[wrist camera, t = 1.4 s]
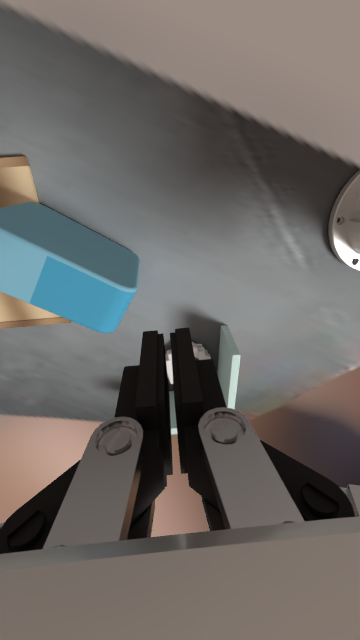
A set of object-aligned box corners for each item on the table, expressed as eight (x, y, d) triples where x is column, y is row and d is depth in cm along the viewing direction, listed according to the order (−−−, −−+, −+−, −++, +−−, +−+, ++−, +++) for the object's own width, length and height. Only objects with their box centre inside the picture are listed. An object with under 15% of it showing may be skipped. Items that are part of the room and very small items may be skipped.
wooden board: (26, 156, 27) (24, 156, 26) (71, 320, 35) (70, 322, 35) (-79, 163, 27) (-83, 163, 26) (-9, 327, 35) (-11, 329, 35)
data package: (21, 239, 30) (-49, 273, 19) (34, 199, 28) (-34, 212, 18) (124, 288, 34) (113, 339, 23) (140, 255, 32) (137, 294, 21)
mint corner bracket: (226, 323, 38) (240, 354, 31) (220, 391, 43) (231, 431, 36) (137, 325, 37) (131, 358, 30) (142, 395, 42) (139, 435, 36)
